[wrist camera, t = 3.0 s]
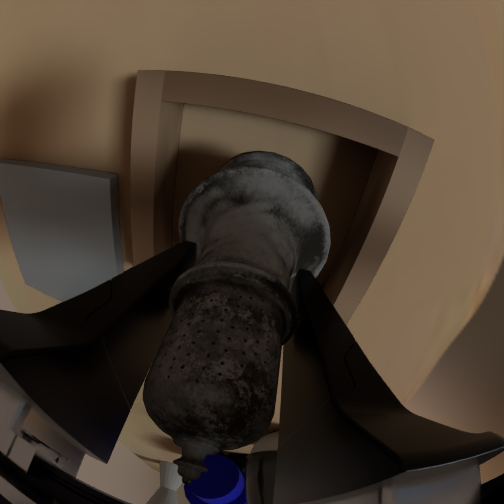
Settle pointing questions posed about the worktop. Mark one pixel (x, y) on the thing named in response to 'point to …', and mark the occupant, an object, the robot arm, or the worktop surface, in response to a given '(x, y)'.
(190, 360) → the salt shaker
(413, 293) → the worktop surface
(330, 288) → the walnut holder
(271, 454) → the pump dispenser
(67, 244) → the slate coaster
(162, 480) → the lava lamp
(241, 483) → the alarm clock
